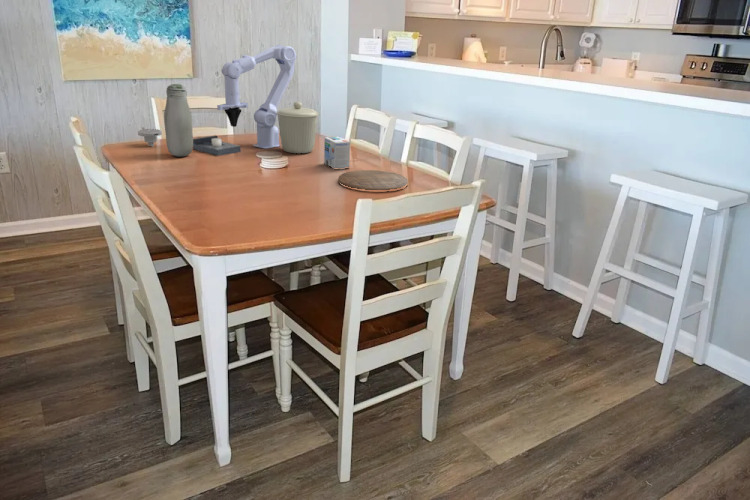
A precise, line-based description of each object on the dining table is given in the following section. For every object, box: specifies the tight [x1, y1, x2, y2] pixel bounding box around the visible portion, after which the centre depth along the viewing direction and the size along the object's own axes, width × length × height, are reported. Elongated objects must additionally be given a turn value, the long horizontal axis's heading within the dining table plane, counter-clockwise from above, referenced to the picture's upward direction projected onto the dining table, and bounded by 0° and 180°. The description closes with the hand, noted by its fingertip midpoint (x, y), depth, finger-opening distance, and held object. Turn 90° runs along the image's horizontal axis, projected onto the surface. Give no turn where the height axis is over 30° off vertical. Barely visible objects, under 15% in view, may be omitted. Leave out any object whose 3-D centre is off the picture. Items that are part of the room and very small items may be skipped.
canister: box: [276, 101, 320, 155], centre depth 246 cm, size 18×18×21 cm
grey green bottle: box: [163, 83, 194, 158], centre depth 226 cm, size 10×10×28 cm
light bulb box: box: [323, 136, 351, 168], centre depth 226 cm, size 11×7×11 cm, turn 27°
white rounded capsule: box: [211, 137, 223, 147], centre depth 242 cm, size 4×4×5 cm
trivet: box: [337, 169, 409, 190], centre depth 207 cm, size 25×25×2 cm
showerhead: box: [137, 126, 163, 147], centre depth 244 cm, size 9×7×10 cm
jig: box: [192, 134, 242, 157], centre depth 243 cm, size 12×16×4 cm
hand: (233, 126), depth 243 cm, fingers closed
